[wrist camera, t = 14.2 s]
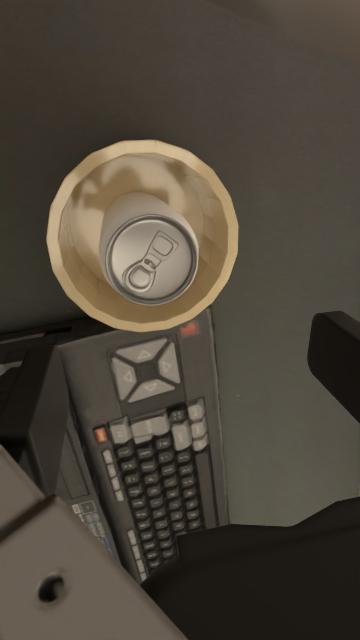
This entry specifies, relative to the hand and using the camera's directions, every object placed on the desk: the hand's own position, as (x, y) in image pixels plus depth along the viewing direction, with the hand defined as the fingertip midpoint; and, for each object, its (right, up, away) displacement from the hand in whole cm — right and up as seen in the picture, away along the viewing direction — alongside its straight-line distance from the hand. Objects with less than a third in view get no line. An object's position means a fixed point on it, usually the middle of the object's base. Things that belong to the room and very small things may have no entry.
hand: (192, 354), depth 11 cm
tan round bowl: (-4, +10, +21) cm, 23 cm away
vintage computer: (-9, -17, +33) cm, 38 cm away
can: (-4, +10, +21) cm, 23 cm away
